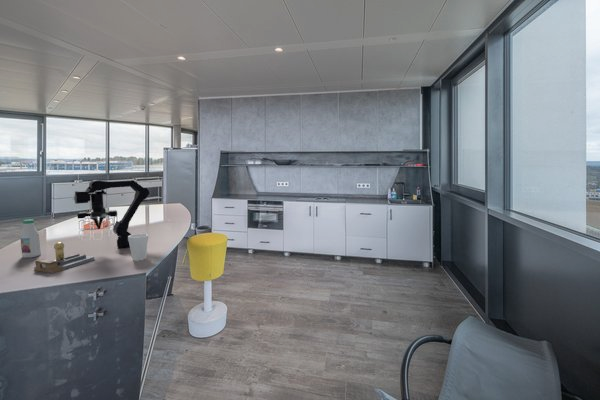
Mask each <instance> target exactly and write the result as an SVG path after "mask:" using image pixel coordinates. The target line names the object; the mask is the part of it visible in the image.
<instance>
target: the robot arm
mask: <svg viewBox="0 0 600 400" xmlns="http://www.w3.org/2000/svg"><path fill="white" fill-rule="evenodd" d="M88 185H89V186H88V187H87V188H86V189H85V190H83V191H78V190H77V191H76V190H75V191H74V196H73V197H74V198H73V199H74V204H75V205H78V204H89V202H91V203H90V204H91V208H90V212H87V211H80V212H78V213H77V219H85V218H86V217H89V219H90V220H92V221H93V222H94V224H95V226H96V228H97V229H98V230H100V229H101V226H102V223H103V221H104V219H106V218H107V216H109V217H118V210H116V209H115V210H108V211H107V208H106V207H104V195H107V194H108V193H107V192H106V191H105V190H107V189H111V188H112V189H114V188H128V187H130V188H131V189H132V190H133V191H134V196H133V200H132V201H131V203H130V205H129V207H128V209H127V210H126V211H125V214H124V215H123V217H122V218H121V220H119V221H118V220H116V222H115V223H114V225H113V226H112V227H113V228H112V231H113V233H114V234H116V235H117V239H116V245H117V246H116V247H117V249H125V248H130V245H129V241H128V236H129V235H132V233H131V232H129V231H128V230H129V225H130V222H131V220H132V219H133V217H134V215H135V214H136V212H137V210H138V208H139V207H140V205H141V204H142V202H143V201H145V200H146V199H147V198H148V197H149V195H150V190H149V189H148V188H146V187H143V186H142V185H141V184H139V183H138V182H137V181H135V180H134V179H129V180H112V181H111V180H110V181H108V180H99V179H98V180H96V179H92V180H91V181H90V182H89V184H88Z"/></svg>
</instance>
